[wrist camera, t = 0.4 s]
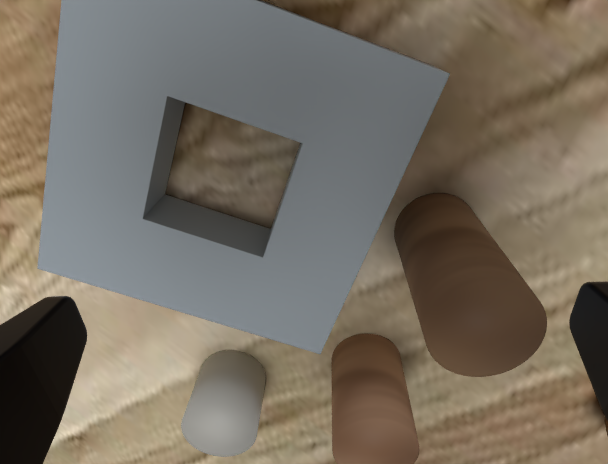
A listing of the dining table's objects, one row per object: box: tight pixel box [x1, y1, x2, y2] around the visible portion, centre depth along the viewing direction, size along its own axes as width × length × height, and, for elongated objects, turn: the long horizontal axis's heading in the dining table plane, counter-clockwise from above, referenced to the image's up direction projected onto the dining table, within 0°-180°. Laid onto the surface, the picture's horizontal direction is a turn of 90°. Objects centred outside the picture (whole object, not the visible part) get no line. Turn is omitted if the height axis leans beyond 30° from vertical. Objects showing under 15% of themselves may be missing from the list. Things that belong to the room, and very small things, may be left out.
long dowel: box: [394, 193, 547, 377], centre depth 19 cm, size 4×4×8 cm
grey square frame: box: [38, 0, 450, 354], centre depth 20 cm, size 14×14×3 cm
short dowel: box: [181, 350, 266, 457], centre depth 26 cm, size 4×4×4 cm
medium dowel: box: [332, 334, 419, 464], centre depth 24 cm, size 4×4×6 cm
